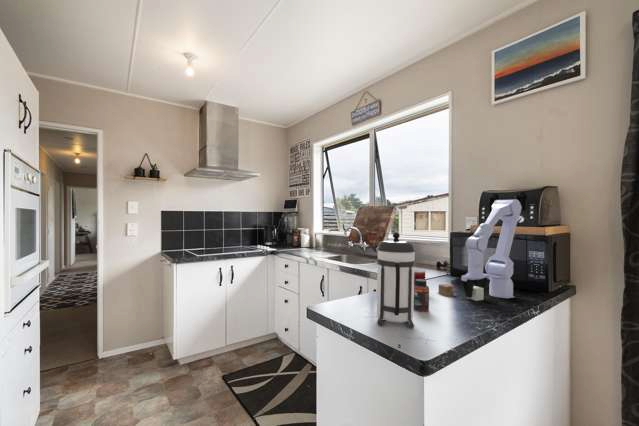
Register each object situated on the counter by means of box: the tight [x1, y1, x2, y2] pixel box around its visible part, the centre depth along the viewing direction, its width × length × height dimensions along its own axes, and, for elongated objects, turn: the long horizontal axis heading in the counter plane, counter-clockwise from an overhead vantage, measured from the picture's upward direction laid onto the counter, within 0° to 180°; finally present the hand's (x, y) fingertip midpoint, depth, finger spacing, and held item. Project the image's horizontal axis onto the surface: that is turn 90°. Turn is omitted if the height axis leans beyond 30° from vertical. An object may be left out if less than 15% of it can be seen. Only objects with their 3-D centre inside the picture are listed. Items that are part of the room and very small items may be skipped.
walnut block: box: [438, 283, 455, 297], centre depth 135 cm, size 4×4×4 cm
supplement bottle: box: [413, 279, 430, 313], centre depth 115 cm, size 6×6×11 cm
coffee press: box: [376, 232, 417, 329], centre depth 100 cm, size 17×16×30 cm
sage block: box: [466, 285, 485, 302], centre depth 129 cm, size 4×4×5 cm
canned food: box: [414, 268, 426, 285], centre depth 137 cm, size 8×8×11 cm
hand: (475, 296), depth 129 cm, fingers open, 7 cm apart
